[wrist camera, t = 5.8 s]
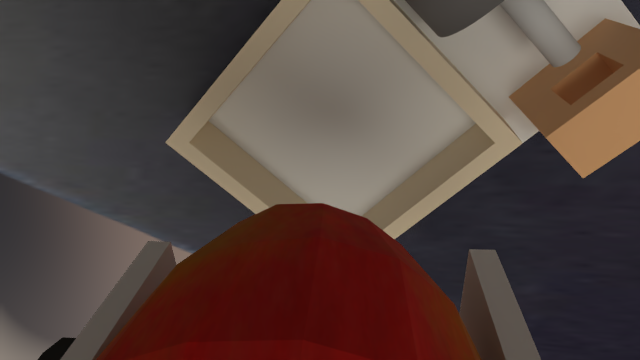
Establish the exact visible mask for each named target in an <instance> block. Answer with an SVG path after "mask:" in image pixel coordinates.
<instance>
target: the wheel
mask: <svg viewBox="0 0 640 360" xmlns="http://www.w3.org/2000/svg"><path fill="white" fill-rule="evenodd" d="M405 1H406V2H407V3H408V4H409V5H410V6H411V7H412V9H413V10H414V11H415V12H416V13H417V14H418V15H419V16H420V17H421V18H422V19H423V20H424V22H425V23H426V24H427V25H428V26H429V27H430V28H431V29H432V30H433V31H434V32H435V33H436V35H437V36H439V37H447V36H450V35H453V34H455V33H457V32H459V31H461V30H463V29H465V28H467V27H468V26H470V25H471V24H473V23H475V22H476V21H477V20H479V19H480V18H482V17H483V16H485V15H486V14H487V13H489V12H490V11H491V10H493V9H494V8H495V7H497V6H498V5H499V4H500V5H501V6H502V8H503V9H504V10H505V11H506V12H507V13H508V15H509V16H510V17H511V18H512V19H513V21H514V22H515V23H516V24H517V25H518V26H519V28H520V29H521V30H522V31H523V32H524V34H525V35H526V36H527V37H528V38H529V39H530V41H531V42H532V43H533V44H534V45H535V47H536V48H537V49H538V50H539V51H540V52H541V54H542V55H543V56H544V57H545V58H546V60H547V61H548V62H549V63H550V64H551V65H552V67H560V66H562V65H564V64H566V63H568V62H569V61H571V60H572V59H573V58H574V57H575V56H576V55H577V54H578V53H579V52H580V50H581V46H580V44H579V43H578V42H577V41H576V39H575V38H574V37H573V36H572V34H571V33H570V32H569V31H568V30H567V28H566V27H565V26H564V25H563V23H562V22H561V21H560V20H559V18H558V17H557V16H556V15H555V13H554V12H553V11H552V10H551V9H550V7H549V6H548V5H547V4H546V2H545V1H544V0H405Z"/></svg>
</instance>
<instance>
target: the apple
mask: <svg viewBox="0 0 640 360" xmlns="http://www.w3.org/2000/svg"><path fill="white" fill-rule="evenodd" d="M96 360H482V359H481V357H480V355H479V353H478V351H477V349H476V347H475V345H474V343H473V341H472V339H471V337H470V335H469V333H468V331H467V329H466V327H465V325H464V323H463V321H462V319H461V317H460V315H459V313H458V311H457V309H456V307H455V305H454V303H453V302H452V301H451V300H450V299H449V298H448V297H447V296H446V294H445V293H444V292H443V291H442V290H441V289H440V288H439V287H438V286H437V284H436V283H435V282H434V281H433V280H432V279H431V278H430V277H429V275H428V274H427V273H426V272H425V271H424V270H423V269H422V268H421V266H420V265H419V264H418V263H417V262H416V261H415V260H414V259H413V257H412V256H411V255H410V254H409V253H408V252H407V251H406V250H405V248H404V247H403V246H402V245H401V244H400V243H398V242H397V241H396V240H395V239H393V238H392V237H391V236H389V235H388V234H387V233H386V232H384V231H383V230H382V229H380V228H379V227H378V226H377V225H375V224H374V223H373V222H371V221H370V220H369V219H368V218H365V217H362V216H359V215H356V214H353V213H351V212H348V211H345V210H342V209H339V208H336V207H333V206H330V205H327V204H324V203H306V204H276V205H274V206H272V207H270V208H268V209H266V210H264V211H261V212H259V213H257V214H255V215H253V216H251V217H249V218H247V219H245V220H243V221H241V222H239V223H237V224H236V225H234V226H233V227H231V228H230V229H228V230H227V231H225V232H224V233H223V234H221V235H220V236H218V237H217V238H215V239H214V240H212V241H211V242H209V243H208V244H206V245H205V246H204V247H202V248H201V249H199V250H198V251H196V252H195V253H193V254H192V255H190V256H189V257H187V258H186V259H185V260H183V261H182V262H180V263H179V264H177V265H176V266H175V267H174V269H173V270H172V271H171V272H170V273H169V274H168V275H167V277H166V278H165V279H164V280H163V281H162V282H161V284H160V285H159V286H158V287H157V288H156V289H155V290H154V292H153V293H152V294H151V295H150V296H149V297H148V298H147V300H146V301H145V302H144V303H143V304H142V305H141V307H140V308H139V309H138V310H137V311H136V313H135V314H134V315H133V316H132V317H131V318H130V320H129V321H128V322H127V323H126V324H125V326H124V327H123V328H122V329H121V330H120V332H119V333H118V334H117V335H116V336H115V337H114V339H113V340H112V341H111V342H110V343H109V345H108V346H107V347H106V348H105V349H104V351H103V352H102V353H101V354H100V355H99V356H98V358H97V359H96Z"/></svg>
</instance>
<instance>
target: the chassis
mask: <svg viewBox="0 0 640 360" xmlns="http://www.w3.org/2000/svg"><path fill="white" fill-rule="evenodd" d="M544 1H545V2H546V4H547V5H548V6H549V7H550V9H551V10H552V11H553V12H554V13H555V15H556V16H557V17H558V18H559V20H560V21H561V22H562V23H563V25H564V26H565V27H566V28H567V30H568V31H569V32H570V33H571V34H572V36H573V37H574V38H575V39H576V41H577V42H578V43H579V44H580V46H581V50H580V52H579V53H578V54H577V55H576V56H575V57H574V58H573V59H572V60H571V61H569V62H568V63H566V64H564V65H562V66H560V67H552V65H551V64H550V63H549V62H548V61H547V60H546V58H545V57H544V56H543V55H542V54H541V52H540V51H539V50H538V49H537V48H536V47H535V45H534V44H533V43H532V42H531V41H530V39H529V38H528V37H527V36H526V35H525V34H524V32H523V31H522V30H521V29H520V28H519V26H518V25H517V24H516V23H515V22H514V21H513V19H512V18H511V17H510V16H509V15H508V13H507V12H506V11H505V10H504V9H503V8H502V6H501V5H500V4H499V5H498V6H497V7H495V8H494V9H493V10H491V11H490V12H489V13H487V14H486V15H485V16H483V17H482V18H480V19H479V20H477V21H476V22H475V23H473V24H471V25H470V26H468V27H467V28H465V29H463V30H461V31H459V32H457V33H455V34H453V35H450V36H447V37H439V36H437V35H436V33H435V32H434V31H433V30H432V29H431V28H430V27H429V26H428V25H427V24H426V23H425V22H424V20H423V19H422V18H421V17H420V16H419V15H418V14H417V13H416V12H415V11H414V10H413V9H412V7H411V6H410V5H409V4H408V3H407V2H406V1H405V0H281V1H280V2H279V4H278V5H277V6H276V7H275V8H274V10H273V11H272V12H271V13H270V15H269V16H268V17H267V18H266V19H265V21H264V22H263V23H262V24H261V26H260V27H259V28H258V29H257V31H256V32H255V33H254V34H253V35H252V37H251V38H250V39H249V40H248V42H247V43H246V44H245V45H244V47H243V48H242V49H241V50H240V51H239V53H238V54H237V55H236V56H235V58H234V59H233V60H232V61H231V62H230V64H229V65H228V66H227V67H226V69H225V70H224V71H223V72H222V74H221V75H220V76H219V77H218V78H217V80H216V81H215V82H214V83H213V85H212V86H211V87H210V88H209V90H208V91H207V92H206V93H205V94H204V96H203V97H202V98H201V99H200V101H199V102H198V103H197V104H196V105H195V107H194V108H193V109H192V110H191V112H190V113H189V114H188V115H187V117H186V118H185V119H184V120H183V121H182V123H181V124H180V125H179V126H178V128H177V129H176V130H175V131H174V133H173V134H172V135H171V136H170V137H169V139H168V140H167V141H166V142H165V143H167V144H168V145H169V146H170V147H172V148H173V149H174V150H175V151H177V152H178V153H179V154H180V155H182V156H183V157H184V158H186V159H187V160H188V161H189V162H191V163H192V164H193V165H194V166H196V167H197V168H198V169H199V170H201V171H202V172H203V173H205V174H206V175H207V176H208V177H210V178H211V179H212V180H213V181H215V182H216V183H217V184H218V185H220V186H221V187H222V188H224V189H225V190H226V191H227V192H229V193H230V194H231V195H232V196H234V197H235V198H236V199H237V200H239V201H240V202H241V203H243V204H244V205H245V206H246V207H248V208H249V209H250V210H251V211H253V212H254V213H255V214H257V213H259V212H261V211H264V210H266V209H268V208H270V207H272V206H274V205H276V204H306V203H324V204H327V205H330V206H333V207H336V208H339V209H342V210H345V211H348V212H351V213H353V214H356V215H359V216H362V217H365V218H368V219H369V220H370V221H371V222H373V223H374V224H375V225H377V226H378V227H379V228H380V229H382V230H383V231H384V232H386V233H387V234H388V235H389V236H391V237H392V238H393V239H396V238H397V237H398V236H400V235H401V234H402V233H404V232H405V231H406V230H408V229H409V228H410V227H412V226H413V225H414V224H416V223H417V222H418V221H420V220H421V219H422V218H424V217H425V216H426V215H428V214H429V213H430V212H432V211H433V210H434V209H436V208H437V207H438V206H440V205H441V204H442V203H444V202H445V201H446V200H448V199H449V198H450V197H452V196H453V195H454V194H456V193H457V192H458V191H460V190H461V189H462V188H464V187H465V186H466V185H468V184H469V183H470V182H472V181H473V180H474V179H476V178H477V177H478V176H480V175H481V174H482V173H484V172H485V171H486V170H488V169H489V168H490V167H492V166H493V165H494V164H496V163H497V162H498V161H500V160H501V159H502V158H504V157H505V156H506V155H508V154H509V153H510V152H512V151H513V150H514V149H516V148H517V147H518V146H520V145H521V144H522V143H523V142H525V141H526V140H527V139H529V138H530V137H531V136H533V135H534V134H535V133H537V132H538V131H540V132H541V133H542V134H543V135H544V136H545V138H546V139H547V140H548V141H549V142H550V143H551V144H552V145H553V146H554V147H555V148H556V149H557V151H558V152H559V153H560V154H561V155H562V156H563V157H564V158H565V159H566V160H567V161H568V163H569V164H570V165H571V166H572V167H573V168H574V169H575V170H576V171H577V172H578V173H579V174H580V176H581V177H582V178H585V177H586V176H588V175H589V174H591V173H592V172H594V171H595V170H597V169H598V168H600V167H601V166H603V165H604V164H606V163H607V162H609V161H610V160H612V159H613V158H614V157H616V156H617V155H619V154H620V153H622V152H623V151H625V150H626V149H628V148H629V147H631V146H632V145H634V144H635V143H637V142H638V141H640V25H639V24H638V22H637V21H636V20H635V18H634V17H633V16H632V14H631V13H630V12H629V10H628V9H627V8H626V6H625V5H624V4H623V2H622V1H621V0H544Z"/></svg>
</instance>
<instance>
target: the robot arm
mask: <svg viewBox="0 0 640 360" xmlns="http://www.w3.org/2000/svg"><path fill="white" fill-rule="evenodd" d="M175 266H176V262H175V258H174V254H173V250H172V246H171V242H155V241H148V242H147V244H146V245H145V246H144V248H143V249H142V250H141V252H140V253H139V254H138V256H137V257H136V258H135V260H134V261H133V262H132V264H131V265H130V266H129V268H128V269H127V270H126V272H125V273H124V275H123V276H122V277H121V279H120V280H119V281H118V283H117V284H116V285H115V287H114V288H113V289H112V291H111V292H110V293H109V295H108V296H107V298H106V299H105V300H104V302H103V303H102V304H101V306H100V307H99V308H98V309H97V311H96V312H95V314H94V315H93V316H92V318H91V319H90V320H89V322H88V323H87V324H86V326H85V327H84V328H83V330H82V331H81V333H80V334H79V335H78V336H77V338H61V339H60V340H59V341H58V342H56V343H55V344H54V345H52V346H51V347H50V348H49V349H47V350H46V351H45V352H44V353H43V354H42V355H41V356H40V357H39V359H38V360H96V359H97V358H98V356H99V355H100V354H101V353H102V352H103V351H104V349H105V348H106V347H107V346H108V345H109V343H110V342H111V341H112V340H113V339H114V337H115V336H116V335H117V334H118V333H119V332H120V330H121V329H122V328H123V327H124V326H125V324H126V323H127V322H128V321H129V320H130V318H131V317H132V316H133V315H134V314H135V313H136V311H137V310H138V309H139V308H140V307H141V305H142V304H143V303H144V302H145V301H146V300H147V298H148V297H149V296H150V295H151V294H152V293H153V292H154V290H155V289H156V288H157V287H158V286H159V285H160V284H161V282H162V281H163V280H164V279H165V278H166V277H167V275H168V274H169V273H170V272H171V271H172V270H173V269H174V267H175ZM459 315H460V317H461V319H462V321H463V323H464V325H465V327H466V329H467V331H468V333H469V335H470V337H471V339H472V341H473V343H474V345H475V347H476V349H477V351H478V353H479V355H480V357H481V359H482V360H541V358H540V356H539V354H538V351H537V349H536V346H535V344H534V342H533V339H532V337H531V334H530V332H529V330H528V327H527V325H526V322H525V320H524V318H523V315H522V313H521V310H520V308H519V306H518V303H517V301H516V298H515V296H514V294H513V291H512V289H511V286H510V284H509V282H508V279H507V277H506V275H505V272H504V270H503V267H502V265H501V263H500V260H499V258H498V255H497V253H496V251H495V250H474V249H469V254H468V261H467V267H466V274H465V281H464V287H463V294H462V301H461V307H460V314H459Z"/></svg>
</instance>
